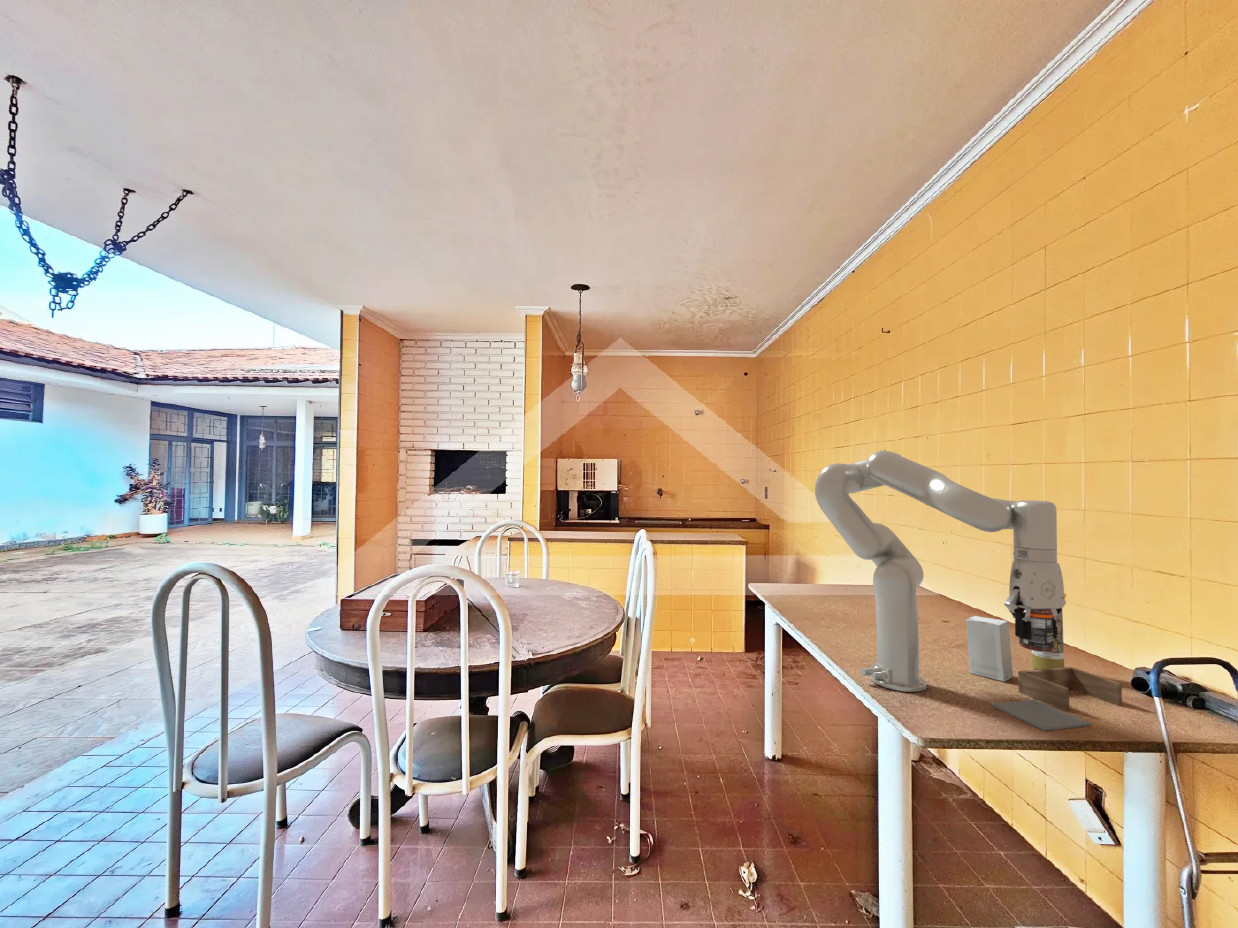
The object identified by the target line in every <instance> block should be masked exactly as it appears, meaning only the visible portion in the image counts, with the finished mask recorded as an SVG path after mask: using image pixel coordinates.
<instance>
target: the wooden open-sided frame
mask: <svg viewBox="0 0 1238 928" xmlns="http://www.w3.org/2000/svg"><path fill="white" fill-rule="evenodd" d="M1017 677H1018V678H1017V680H1018V681H1017V683H1018V687H1017V688H1018V693H1020V694H1023V695H1025V696H1027V697H1030V698H1033V699H1034V700H1036V701H1039V702H1041V703H1043V704H1046V705H1048V706H1051V707H1053V708H1056V709H1058V710H1060V711H1063V712H1070V690H1074V691H1077V692H1080V693H1082V694H1085V695H1088V696H1090V697H1094V698H1097V699H1099V700H1102V701H1104V702H1108V703H1110V704H1113V705H1115V704H1116V705H1115V706H1118V707H1121V706H1120V705H1122V706H1123V691H1122V688H1123V687H1122V684H1123V683H1121V682H1118V681H1115V680H1112V679H1109V678H1106V677H1103V676H1099V675H1096V674H1094V673H1090V672H1088V671H1084V670H1081V669H1078V668H1075V667H1072V666H1067V667H1065V666H1064V667H1063V668H1051V669H1039V670H1036V669H1029V670H1017Z"/></svg>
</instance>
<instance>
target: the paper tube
mask: <svg viewBox="0 0 1238 928" xmlns="http://www.w3.org/2000/svg"><path fill="white" fill-rule="evenodd" d="M1058 617H1059V618H1058V620H1056V638H1054V639H1053V650H1052V651H1049V652H1040V651H1034V650H1031V665H1032V667H1033V669H1034V670H1039V669H1051V668H1063V667H1065V648H1064V622H1063V608H1062V609H1061V612H1060V613H1059V615H1058Z"/></svg>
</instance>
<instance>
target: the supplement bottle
mask: <svg viewBox="0 0 1238 928" xmlns="http://www.w3.org/2000/svg"><path fill="white" fill-rule="evenodd" d="M1023 606H1024V605H1023ZM1024 610H1025V609H1022V608H1021V611H1022V612H1023V613H1024ZM1028 621H1030V622H1031V640H1027V639H1023V638H1020V637H1018V644H1019V646H1021V647H1022V648H1024V649H1027V650H1030V651H1032V650H1034V651H1040V652H1049V651H1052V650H1053V612H1052V610H1051V609H1041V610H1033V609H1032V611H1031V614H1030V617H1029V620H1028Z"/></svg>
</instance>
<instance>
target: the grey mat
mask: <svg viewBox="0 0 1238 928" xmlns="http://www.w3.org/2000/svg"><path fill="white" fill-rule="evenodd" d="M990 706H991V707H993V708H994V709H997V710H999V711H1001V712H1003V713H1005V714H1007V715H1009V716H1012V717H1014V718H1016V719H1018V720H1021V721H1023V722H1025V723H1027V724H1029V725H1031V726H1033V727H1036V728H1038V729H1040V730H1042V731H1045V732H1046V731H1053V730H1064V728H1065V729H1072V728H1081V727H1082V726H1083V727H1090V726H1091V727H1092V723H1091V722H1088V721H1087V720H1084V719H1082V718H1079V717H1078V716H1075V715H1072V714H1070V713H1067V712H1066V711H1064V710H1061V709H1059V708H1056V707H1054V706H1052V705H1049V704H1047V703H1044V702H1042V701H1040V700H1037V699H1029V700H1028V699H1026V700H1017V701H1006V702H996V703H991V705H990ZM1083 727H1082V728H1083Z"/></svg>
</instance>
